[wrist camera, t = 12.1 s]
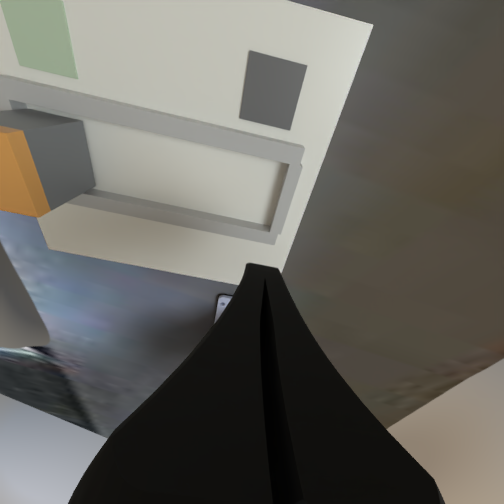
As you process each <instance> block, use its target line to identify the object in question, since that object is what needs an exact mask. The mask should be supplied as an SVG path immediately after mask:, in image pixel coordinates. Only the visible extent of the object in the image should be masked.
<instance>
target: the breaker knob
mask: <svg viewBox="0 0 504 504" xmlns="http://www.w3.org/2000/svg"><path fill="white" fill-rule="evenodd" d="M95 186H96V184H95V179H94V174H93V169H92V164H91V159H90V154H89V149H88V145H87V140H86V135H85V130H84V125H83V121H81V120H77V119H72V118H68V117H64V116H59V115H55V114H51V113H46V112H42V111H38V110H33V109H17V110H4V111H0V210H2V211H7V212H12V213H17V214H22V215H28V216H33V217H38V218H39V217H41V216H43V215H45V214H47V213H48V212H50V211H52V210H54V209H56V208H57V207H59V206H61V205H63V204H65V203H66V202H68V201H70V200H72V199H74V198H75V197H77V196H79V195H81V194H83V193H84V192H86V191H88V190H90V189H92V188H93V187H95Z"/></svg>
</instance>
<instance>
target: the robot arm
mask: <svg viewBox="0 0 504 504" xmlns="http://www.w3.org/2000/svg"><path fill="white" fill-rule="evenodd" d="M222 302H223V303H222ZM68 504H445V502H444V500H443V497H442V495H441V493H440V491H439V489H438V487H437V485H436V482H435V480H434V479H433V478H432V477H431V476H430V475H429V474H428V472H427V471H426V470H425V469H423V467H422V466H421V465H420V464H419V463H418V462H417V461H416V460H415V459H414V458H413V457H412V456H411V455H410V454H409V453H408V452H407V451H406V450H405V449H404V448H403V447H402V446H401V445H400V443H399V442H398V441H396V439H395V438H394V437H393V436H392V435H391V434H390V433H389V432H388V431H387V430H386V429H385V428H384V426H383V425H382V424H381V423H380V422H379V421H378V420H377V419H376V417H375V416H374V415H373V414H372V413H371V412H370V411H369V410H368V408H367V407H366V406H365V405H364V404H363V403H362V401H361V400H360V399H359V398H358V397H357V395H356V394H355V393H354V392H353V390H352V389H351V388H350V387H349V385H348V384H347V383H346V382H345V380H344V379H343V378H342V377H341V375H340V374H339V373H338V372H337V370H336V369H335V367H334V366H333V365H332V363H331V362H330V361H329V359H328V358H327V356H326V355H325V354H324V352H323V351H322V349H321V348H320V346H319V345H318V343H317V342H316V340H315V338H314V337H313V335H312V334H311V332H310V330H309V329H308V327H307V325H306V324H305V322H304V320H303V318H302V317H301V315H300V313H299V311H298V309H297V307H296V305H295V303H294V301H293V299H292V297H291V295H290V293H289V291H288V289H287V287H286V284H285V282H284V280H283V277H282V275H281V273H280V270H279V269H278V268H275V267H270V266H265V265H260V264H255V263H250V262H249V263H247V264H246V266H245V270H244V274H243V277H242V279H241V281H240V284H239V285H238V287H237V289H236V291H235V293H234V295H233V297H232V296H227V295H221V296H219V299H218V305H217V310H216V316H215V322H214V325H213V326H212V328H211V329H210V330H209V332H208V333H207V334H206V336H205V337H204V338H203V339H202V340H201V342H200V343H199V344H198V345H197V346H196V348H195V349H194V350H193V351H192V352H191V354H190V355H189V356H188V357H187V358H186V359H185V360H184V361H183V363H182V364H181V365H180V366H179V367H178V368H177V369H176V370H175V371H174V372H173V373H172V374H171V375H170V376H169V377H168V378H167V379H166V380H165V382H164V383H163V384H162V385H161V386H160V387H159V388H158V389H157V390H156V391H155V392H154V393H153V394H152V395H151V396H150V397H149V398H148V399H147V400H146V401H144V402H143V403H142V404H141V405H140V406H139V407H138V408H137V409H136V410H135V411H134V412H133V413H132V414H131V415H130V416H129V417H128V418H127V419H126V420H124V421H123V422H122V423H121V424H120V425H119V426H118V427H117V428H116V429H115V430H114V431H113V433H112V434H111V435H110V437H109V438H108V439H107V441H106V443H105V444H104V445H103V446H102V448H101V449H100V451H99V452H98V453H97V455H96V456H95V458H94V459H93V461H92V462H91V464H90V465H89V467H88V468H87V470H86V471H85V473H84V475H83V476H82V478H81V480H80V482H79V483H78V485H77V487H76V489H75V490H74V492H73V495H72V496H71V499H70V500H69V503H68Z"/></svg>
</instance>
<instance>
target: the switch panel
mask: <svg viewBox="0 0 504 504" xmlns="http://www.w3.org/2000/svg"><path fill="white" fill-rule="evenodd" d="M372 28H373V25H372V24H369V23H365V22H361V21H358V20H354V19H351V18H347V17H344V16H340V15H337V14H333V13H330V12H326V11H323V10H319V9H315V8H312V7H308V6H305V5H301V4H298V3H294V2H291V1H287V0H0V111H4V110H17V109H33V110H38V111H42V112H46V113H51V114H55V115H59V116H64V117H68V118H72V119H77V120H81V121H83V125H84V130H85V135H86V140H87V145H88V149H89V154H90V159H91V164H92V169H93V174H94V179H95V184H96V186H95V187H93V188H92V189H90V190H88V191H86V192H84V193H83V194H81V195H79V196H77V197H75V198H74V199H72V200H70V201H68V202H66V203H65V204H63V205H61V206H59V207H57V208H56V209H54V210H52V211H50V212H48V213H47V214H45V215H43V216H41V217H39V218H38V217H36V218H37V220H38V223H39V225H40V228H41V230H42V233H43V235H44V238H45V240H46V243H47V246H48V248H49V249H51V250H56V251H62V252H67V253H72V254H77V255H83V256H88V257H93V258H99V259H104V260H109V261H114V262H120V263H125V264H130V265H136V266H141V267H146V268H152V269H157V270H162V271H167V272H173V273H178V274H183V275H189V276H194V277H199V278H204V279H210V280H215V281H220V282H226V283H231V284H236V285H239V284H240V281H241V279H242V277H243V274H244V270H245V266H246V264H247V263H249V262H250V263H255V264H260V265H265V266H270V267H275V268H278V269H279V270H280V273H282V270H283V267H284V264H285V262H286V259H287V256H288V254H289V251H290V248H291V246H292V243H293V240H294V238H295V235H296V232H297V229H298V227H299V224H300V221H301V219H302V216H303V213H304V211H305V208H306V205H307V203H308V200H309V197H310V194H311V192H312V189H313V186H314V184H315V181H316V178H317V176H318V173H319V170H320V168H321V165H322V162H323V159H324V157H325V154H326V151H327V149H328V146H329V143H330V141H331V138H332V135H333V133H334V130H335V127H336V124H337V122H338V119H339V116H340V114H341V111H342V108H343V106H344V103H345V100H346V98H347V95H348V92H349V89H350V87H351V84H352V81H353V79H354V76H355V73H356V71H357V68H358V65H359V63H360V60H361V57H362V54H363V52H364V49H365V46H366V44H367V41H368V38H369V36H370V33H371V30H372Z"/></svg>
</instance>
